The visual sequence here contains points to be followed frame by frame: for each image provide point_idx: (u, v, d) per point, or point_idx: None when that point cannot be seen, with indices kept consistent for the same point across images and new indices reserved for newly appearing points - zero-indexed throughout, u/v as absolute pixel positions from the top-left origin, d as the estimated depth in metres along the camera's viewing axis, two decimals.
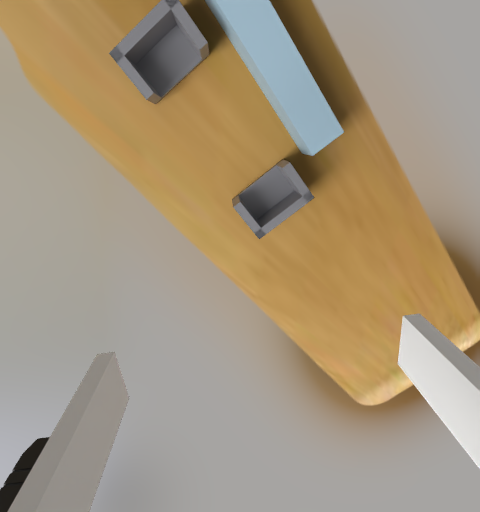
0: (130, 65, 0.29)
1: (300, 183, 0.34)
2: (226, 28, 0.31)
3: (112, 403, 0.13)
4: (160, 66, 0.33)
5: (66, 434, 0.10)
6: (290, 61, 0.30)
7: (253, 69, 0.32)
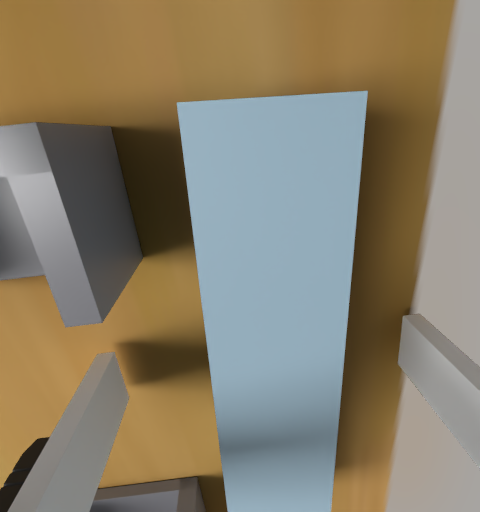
0: None
1: None
2: None
3: (112, 403, 0.13)
4: None
5: (66, 434, 0.10)
6: (305, 454, 0.11)
7: None
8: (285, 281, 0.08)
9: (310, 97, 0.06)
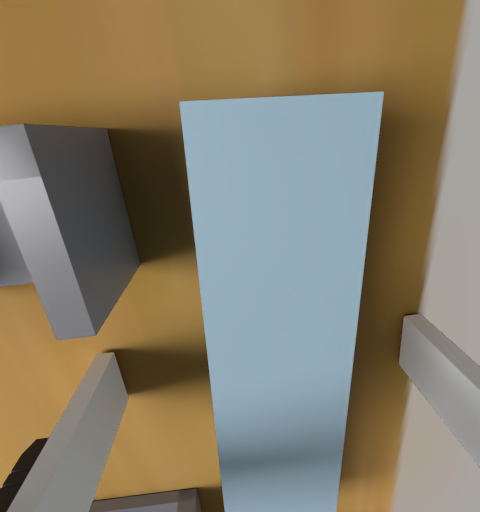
0: None
1: None
2: None
3: (111, 403, 0.13)
4: None
5: (65, 435, 0.10)
6: (309, 471, 0.10)
7: None
8: (291, 292, 0.08)
9: (322, 97, 0.06)
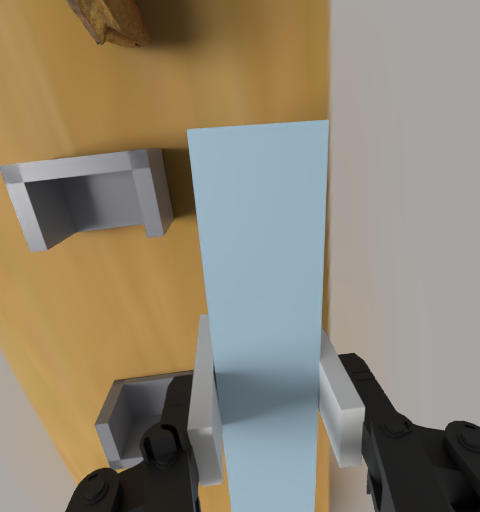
0: (27, 199, 0.17)
1: None
2: None
3: None
4: (96, 197, 0.21)
5: (207, 368, 0.12)
6: (292, 416, 0.13)
7: None
8: (270, 266, 0.10)
9: (286, 124, 0.09)
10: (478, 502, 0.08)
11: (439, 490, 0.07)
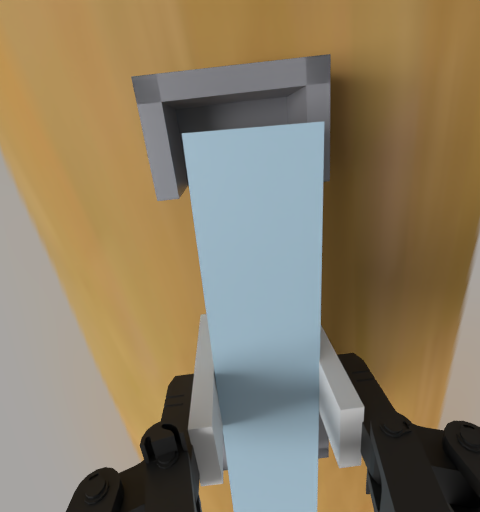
0: (163, 126, 0.13)
1: (323, 433, 0.20)
2: None
3: None
4: None
5: (207, 368, 0.12)
6: (292, 418, 0.12)
7: None
8: (268, 268, 0.10)
9: (281, 127, 0.09)
10: (477, 502, 0.08)
11: (438, 490, 0.07)
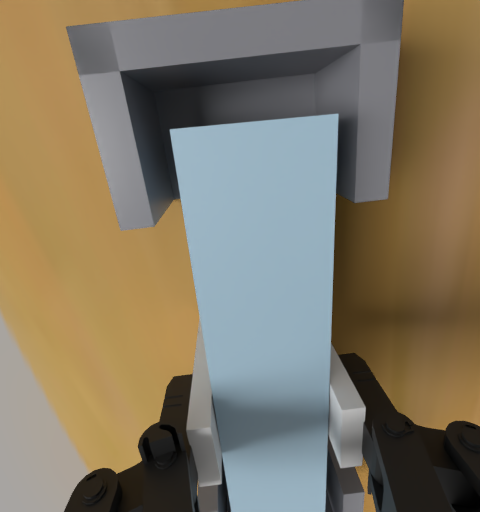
0: (124, 113, 0.08)
1: None
2: None
3: None
4: None
5: (206, 369, 0.12)
6: (299, 443, 0.11)
7: None
8: (272, 283, 0.09)
9: (287, 120, 0.07)
10: (479, 502, 0.08)
11: (441, 491, 0.07)
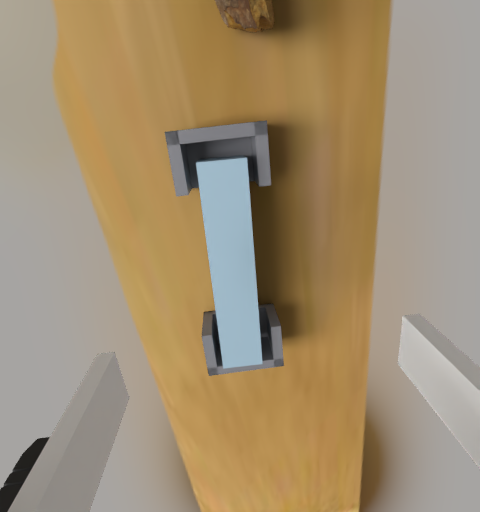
0: (180, 156, 0.24)
1: (278, 347, 0.31)
2: None
3: (112, 403, 0.13)
4: None
5: (66, 434, 0.10)
6: (244, 287, 0.28)
7: None
8: (230, 214, 0.25)
9: (231, 159, 0.24)
10: None
11: None
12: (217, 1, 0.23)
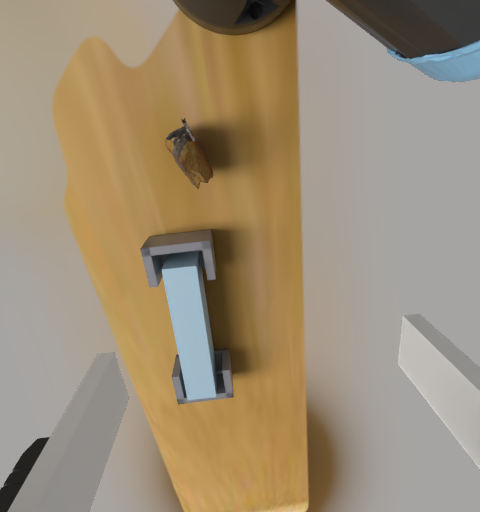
0: (151, 263, 0.36)
1: (229, 384, 0.43)
2: None
3: (112, 403, 0.13)
4: None
5: (66, 434, 0.10)
6: (200, 346, 0.39)
7: None
8: (186, 300, 0.36)
9: (185, 267, 0.35)
10: None
11: None
12: None
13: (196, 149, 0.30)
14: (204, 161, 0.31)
